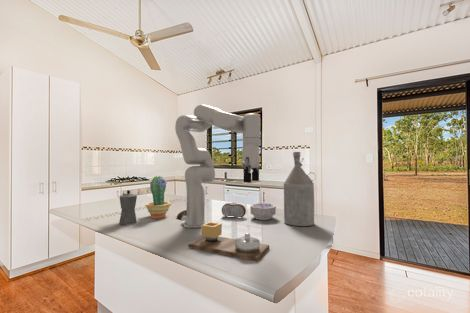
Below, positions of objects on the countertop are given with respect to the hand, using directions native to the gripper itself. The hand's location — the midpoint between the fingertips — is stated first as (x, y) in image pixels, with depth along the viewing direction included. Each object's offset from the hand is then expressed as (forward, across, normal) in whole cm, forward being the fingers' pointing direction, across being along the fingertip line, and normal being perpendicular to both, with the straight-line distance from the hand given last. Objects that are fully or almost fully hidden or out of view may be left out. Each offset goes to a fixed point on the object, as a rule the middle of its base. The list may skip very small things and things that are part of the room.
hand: (251, 181), depth 101 cm
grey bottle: (+26, -37, +14) cm, 47 cm away
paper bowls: (+26, -40, -8) cm, 48 cm away
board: (+25, +12, -5) cm, 29 cm away
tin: (+26, -34, -25) cm, 50 cm away
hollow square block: (+22, +11, -13) cm, 28 cm away
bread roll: (+26, -22, -50) cm, 61 cm away
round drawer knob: (+24, +11, -13) cm, 30 cm away
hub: (+24, +14, +4) cm, 28 cm away
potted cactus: (+26, -17, -68) cm, 75 cm away
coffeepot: (+26, +2, -73) cm, 77 cm away
